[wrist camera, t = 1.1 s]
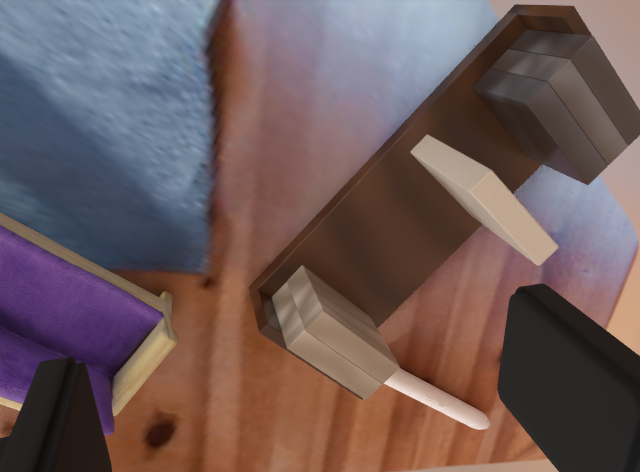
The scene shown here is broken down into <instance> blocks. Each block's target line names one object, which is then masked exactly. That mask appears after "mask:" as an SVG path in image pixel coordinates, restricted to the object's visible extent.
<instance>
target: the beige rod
mask: <svg viewBox="0 0 640 472" xmlns="http://www.w3.org/2000/svg"><path fill="white" fill-rule="evenodd" d="M384 384H386V385H388V386H390V387H392V388H394V389H396V390H398V391H400V392H402V393H404V394H406V395H408V396H410V397H412V398H414V399H416V400H418V401H420V402H422V403H424V404H426V405H428V406H430V407H432V408H434V409H436V410H438V411H440V412H442V413H444V414H445V415H447V416H450V417H452V418H454V419H456V420H458V421H460V422H462V423H464V424H466V425H467V426H469V427H472V428H474V429H479V430H481V429H487V428H489V426H490V423H489V420H488V418H487V417H486V415H485V414H484V413H482V412H481V411H480V410H478V409H476V408H474V407H472V406H470V405H468V404H466V403H465V402H463V401H461V400H459V399H457V398H455V397H453V396H451V395H450V394H448V393H446V392H444V391H442V390H440V389H438V388H436V387H434V386H433V385H431V384H429V383H427V382H425V381H423V380H421V379H419V378H418V377H416V376H414V375H412V374H410V373H408V372H406V371H404V370H402V369H401V368H399V369H398V370H397V371H396V372H395V373H394V374H393V375H392V376H391V377H390V378H389V379H388V380H387V381H386V382H385V383H384Z"/></svg>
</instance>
